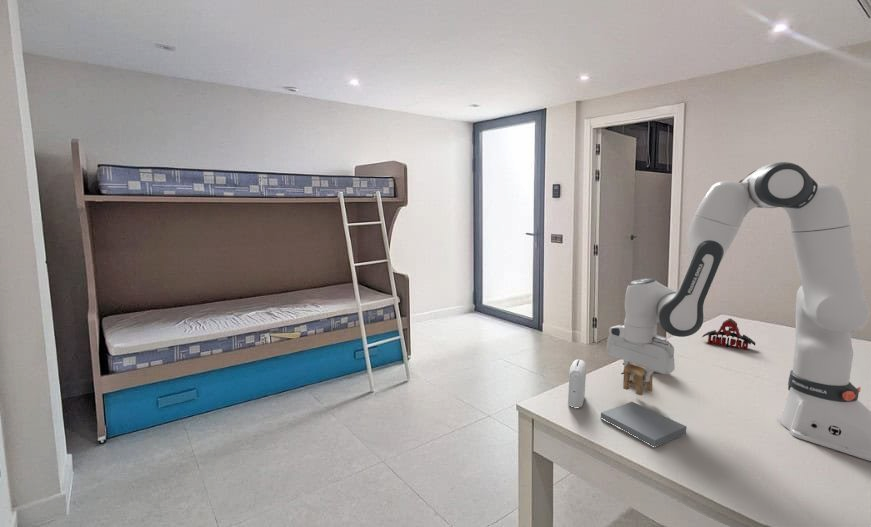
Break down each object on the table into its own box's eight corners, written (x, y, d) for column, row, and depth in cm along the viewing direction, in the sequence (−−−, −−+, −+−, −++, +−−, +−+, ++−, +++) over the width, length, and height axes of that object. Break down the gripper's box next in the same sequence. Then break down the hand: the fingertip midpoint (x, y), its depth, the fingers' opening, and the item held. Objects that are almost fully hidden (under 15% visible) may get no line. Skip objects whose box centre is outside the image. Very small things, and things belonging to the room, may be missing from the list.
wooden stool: (651, 390, 129) (653, 368, 128) (639, 395, 127) (640, 372, 125) (635, 384, 134) (636, 362, 133) (623, 388, 131) (624, 366, 130)
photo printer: (582, 410, 125) (584, 369, 123) (566, 407, 127) (568, 367, 125) (585, 395, 134) (587, 357, 132) (571, 393, 136) (572, 355, 134)
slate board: (685, 433, 112) (686, 426, 112) (654, 447, 106) (654, 440, 105) (631, 407, 126) (631, 401, 126) (600, 419, 120) (601, 412, 119)
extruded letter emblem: (701, 342, 182) (703, 316, 180) (702, 340, 185) (704, 315, 183) (754, 351, 171) (757, 324, 169) (754, 349, 174) (757, 322, 172)
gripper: (680, 340, 120) (678, 388, 122) (617, 323, 138) (616, 365, 140) (667, 344, 117) (664, 393, 119) (604, 327, 135) (603, 369, 137)
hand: (638, 378), depth 130 cm, fingers closed on wooden stool, 4 cm apart
